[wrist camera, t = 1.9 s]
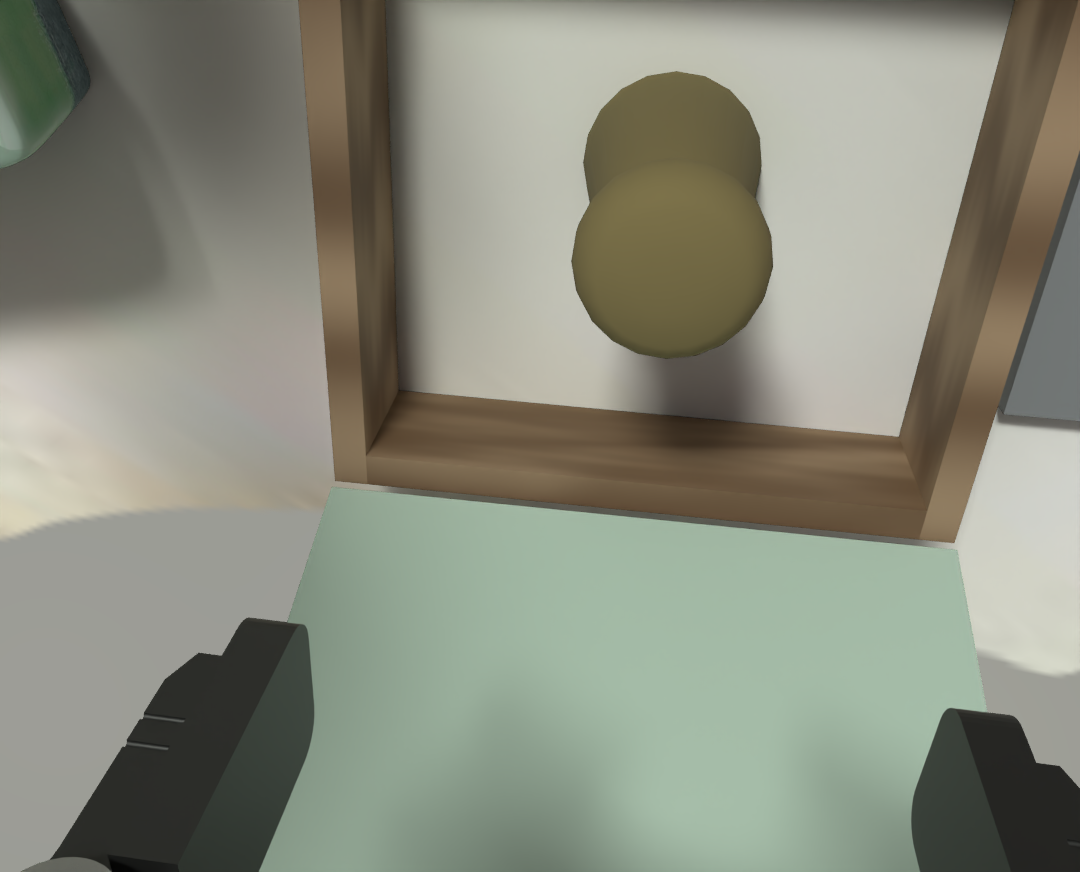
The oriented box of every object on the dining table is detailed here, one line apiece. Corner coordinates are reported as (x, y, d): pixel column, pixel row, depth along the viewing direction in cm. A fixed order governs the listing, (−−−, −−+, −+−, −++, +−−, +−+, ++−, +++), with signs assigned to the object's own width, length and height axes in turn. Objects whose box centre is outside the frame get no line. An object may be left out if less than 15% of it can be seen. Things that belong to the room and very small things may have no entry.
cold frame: (336, -238, 29) (279, -253, 25) (1114, -204, 27) (1196, -213, 23) (370, 413, 40) (335, 480, 36) (923, 466, 39) (954, 542, 35)
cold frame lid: (68, 1281, 21) (84, 1282, 22) (1125, 1458, 20) (1104, 1452, 21) (331, 487, 36) (336, 503, 37) (956, 549, 34) (948, 566, 35)
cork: (548, 142, 34) (501, 255, 25) (699, 32, 32) (710, 110, 22) (646, 279, 36) (638, 431, 27) (795, 186, 34) (842, 315, 24)
